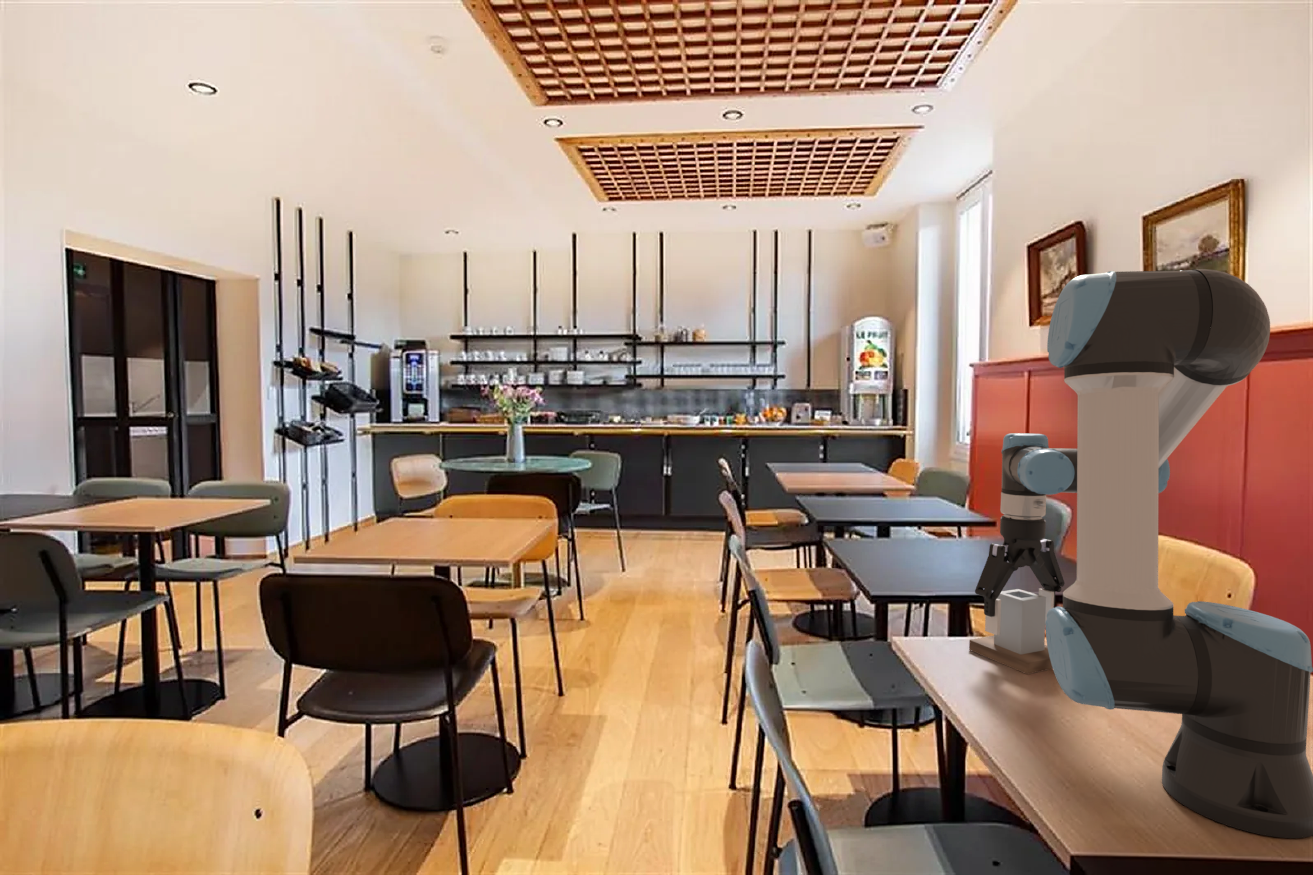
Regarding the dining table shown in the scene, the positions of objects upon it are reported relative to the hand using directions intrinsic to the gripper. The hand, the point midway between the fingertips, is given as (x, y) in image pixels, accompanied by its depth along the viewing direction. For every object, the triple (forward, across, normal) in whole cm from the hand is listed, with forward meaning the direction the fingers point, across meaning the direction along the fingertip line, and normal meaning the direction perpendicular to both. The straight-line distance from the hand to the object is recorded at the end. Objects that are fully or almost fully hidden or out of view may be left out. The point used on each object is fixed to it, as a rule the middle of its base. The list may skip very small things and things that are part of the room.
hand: (1019, 628), depth 134 cm
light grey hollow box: (+4, 0, 0) cm, 4 cm away
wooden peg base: (+6, 0, 0) cm, 6 cm away
